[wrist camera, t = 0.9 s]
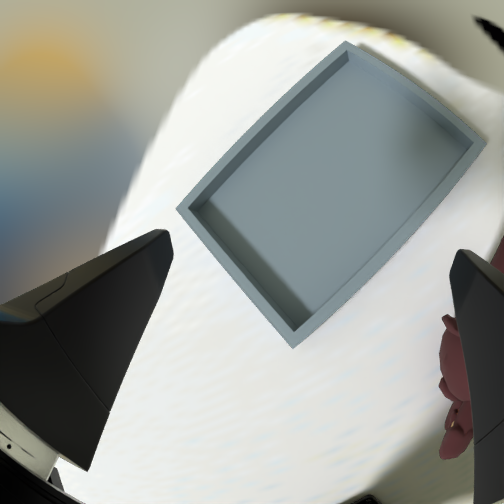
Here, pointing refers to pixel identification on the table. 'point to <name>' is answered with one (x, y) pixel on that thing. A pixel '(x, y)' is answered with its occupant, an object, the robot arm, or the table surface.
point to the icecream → (458, 382)
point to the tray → (328, 187)
